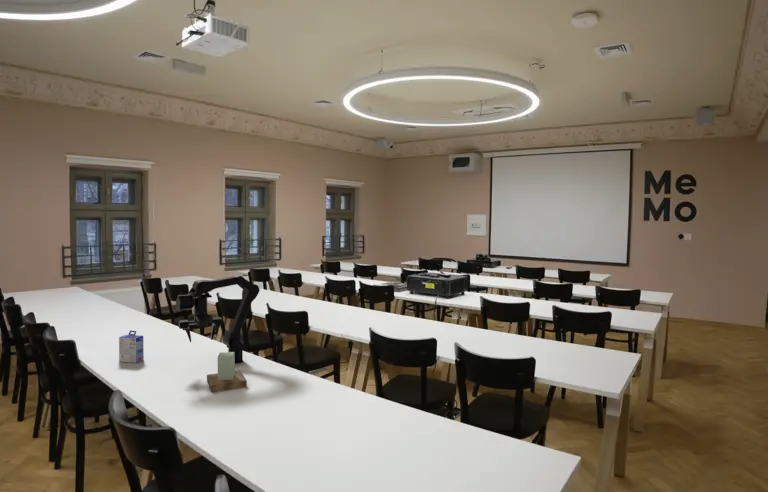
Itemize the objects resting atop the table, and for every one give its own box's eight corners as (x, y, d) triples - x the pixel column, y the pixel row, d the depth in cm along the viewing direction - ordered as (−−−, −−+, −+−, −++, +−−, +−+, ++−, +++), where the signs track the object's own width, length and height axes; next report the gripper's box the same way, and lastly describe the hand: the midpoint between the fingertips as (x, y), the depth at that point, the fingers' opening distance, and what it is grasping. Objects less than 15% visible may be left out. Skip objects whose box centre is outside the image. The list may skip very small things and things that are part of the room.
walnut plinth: (240, 376, 212) (240, 370, 212) (246, 387, 200) (246, 380, 200) (206, 381, 206) (206, 374, 206) (211, 392, 194) (211, 385, 193)
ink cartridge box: (144, 359, 234) (143, 330, 233) (136, 363, 229) (135, 333, 228) (127, 358, 236) (126, 329, 235) (118, 361, 231) (117, 332, 230)
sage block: (220, 375, 205) (219, 352, 205) (234, 374, 206) (234, 352, 206) (217, 380, 199) (217, 356, 199) (232, 379, 200) (232, 356, 200)
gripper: (180, 312, 209) (180, 347, 211) (224, 309, 218) (225, 343, 219) (178, 308, 219) (178, 341, 220) (220, 305, 228) (221, 337, 229)
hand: (201, 341), depth 222 cm, fingers open, 9 cm apart
